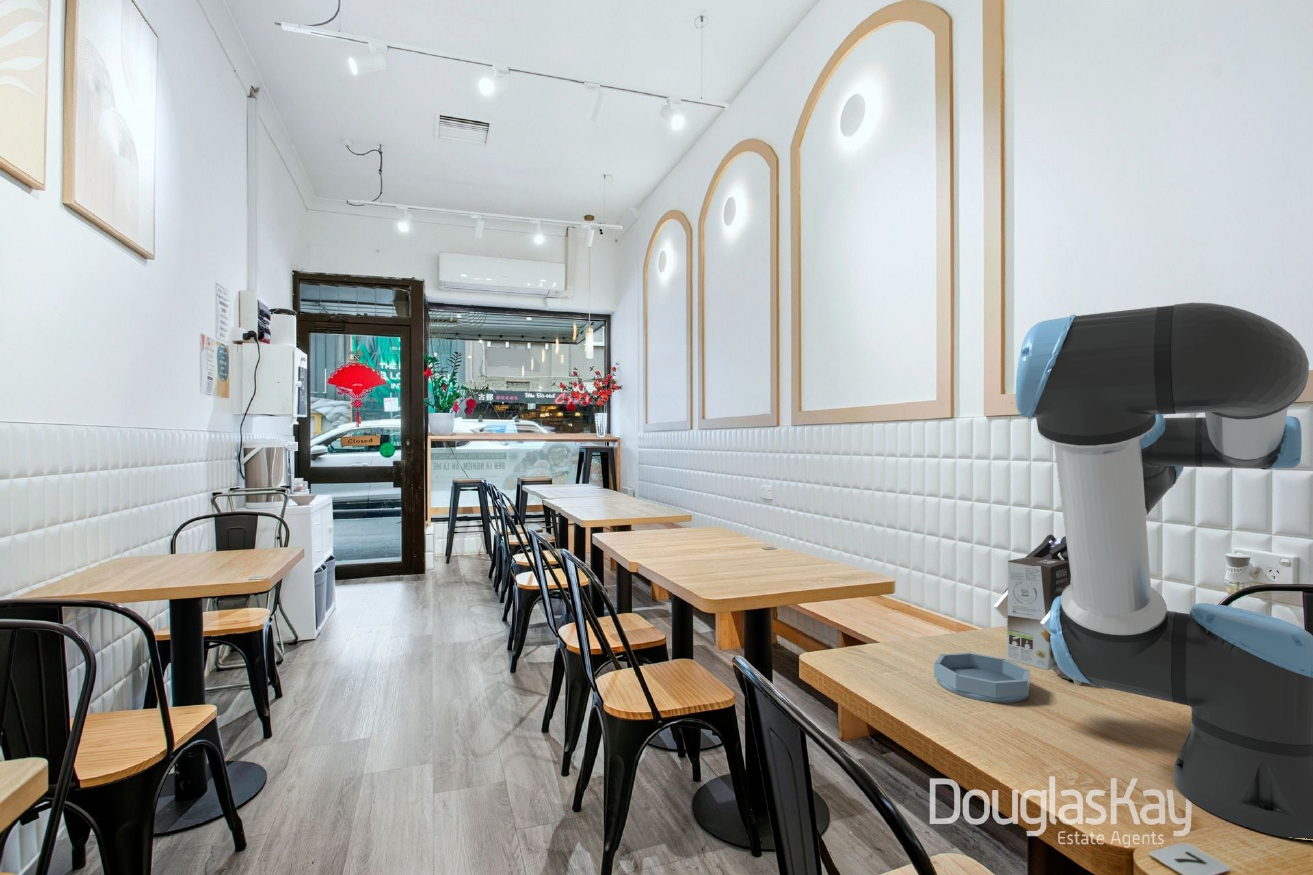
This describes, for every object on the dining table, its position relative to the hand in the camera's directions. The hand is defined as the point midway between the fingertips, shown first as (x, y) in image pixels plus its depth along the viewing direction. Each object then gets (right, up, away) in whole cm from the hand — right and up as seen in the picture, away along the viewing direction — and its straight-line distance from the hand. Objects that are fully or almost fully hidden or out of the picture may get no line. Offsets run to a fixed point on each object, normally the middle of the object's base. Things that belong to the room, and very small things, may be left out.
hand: (1022, 620), depth 100 cm
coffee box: (+3, -7, 0) cm, 7 cm away
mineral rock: (+23, -17, +20) cm, 35 cm away
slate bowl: (+1, -16, +14) cm, 22 cm away
